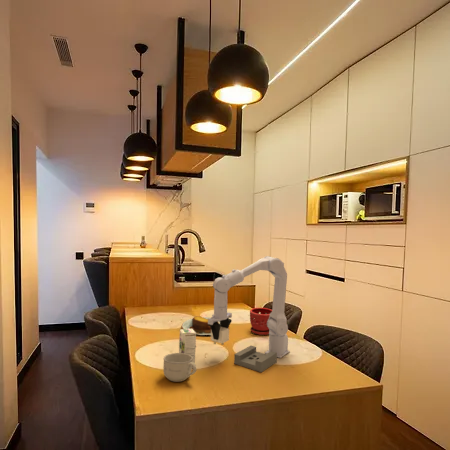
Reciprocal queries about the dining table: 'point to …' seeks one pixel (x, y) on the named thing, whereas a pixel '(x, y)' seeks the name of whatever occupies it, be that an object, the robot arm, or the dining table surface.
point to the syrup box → (187, 342)
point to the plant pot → (259, 320)
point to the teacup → (178, 366)
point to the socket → (255, 359)
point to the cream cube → (221, 336)
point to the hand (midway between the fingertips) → (219, 337)
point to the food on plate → (198, 325)
